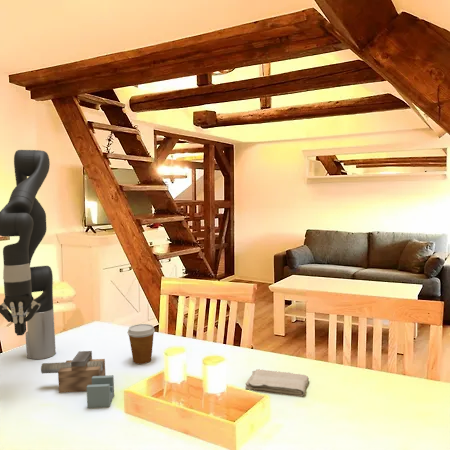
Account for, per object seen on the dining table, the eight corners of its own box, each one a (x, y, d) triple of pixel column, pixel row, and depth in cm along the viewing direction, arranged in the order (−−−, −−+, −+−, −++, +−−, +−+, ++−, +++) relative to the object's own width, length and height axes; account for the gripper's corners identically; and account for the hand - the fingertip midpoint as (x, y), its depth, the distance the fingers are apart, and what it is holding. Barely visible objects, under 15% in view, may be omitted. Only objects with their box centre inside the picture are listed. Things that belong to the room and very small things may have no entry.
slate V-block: (87, 408, 124) (86, 387, 123) (93, 395, 131) (92, 376, 131) (109, 407, 124) (108, 386, 124) (114, 394, 132) (113, 375, 131)
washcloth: (253, 375, 144) (253, 366, 144) (309, 381, 139) (309, 372, 139) (244, 391, 133) (243, 381, 133) (304, 398, 127) (304, 388, 127)
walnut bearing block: (59, 392, 134) (57, 362, 133) (67, 380, 143) (66, 352, 142) (99, 390, 135) (98, 360, 134) (105, 378, 143) (104, 350, 143)
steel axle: (41, 375, 136) (40, 365, 136) (44, 371, 139) (44, 361, 139) (101, 372, 137) (100, 362, 137) (103, 368, 140) (102, 359, 140)
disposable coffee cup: (160, 361, 157) (159, 328, 156) (135, 368, 152) (133, 333, 151) (148, 353, 165) (147, 321, 164) (124, 359, 159) (123, 326, 158)
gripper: (44, 275, 139) (47, 330, 141) (0, 277, 138) (3, 331, 140) (35, 280, 132) (38, 337, 133) (-11, 282, 131) (-8, 339, 132)
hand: (20, 334), depth 136 cm, fingers closed
